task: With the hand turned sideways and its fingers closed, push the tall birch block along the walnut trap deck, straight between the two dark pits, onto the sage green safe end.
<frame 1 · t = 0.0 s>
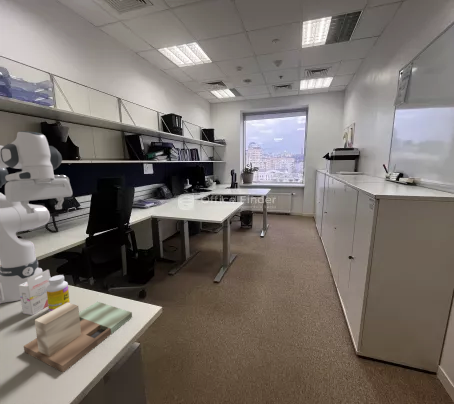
hand: (45, 211, 82), 39 cm above the table, tool pointing down, fingers open, 8 cm apart
supplement bottle: (59, 308, 85), on the table
ink cartridge box: (38, 308, 85), on the table
birch block: (60, 342, 65), point 2 cm above the table, touching trap deck
trap deck: (85, 331, 73), on the table
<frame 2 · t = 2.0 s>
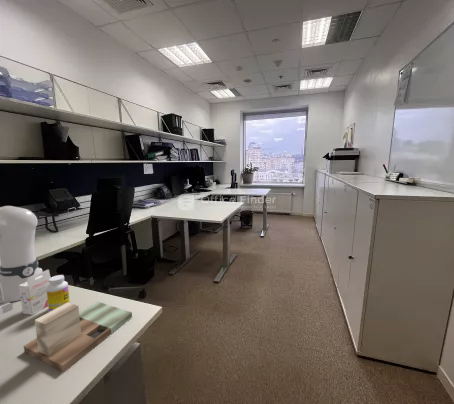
hand: (0, 300, 52), 23 cm above the table, tool horizontal, fingers open, 8 cm apart
nothing on the table moved.
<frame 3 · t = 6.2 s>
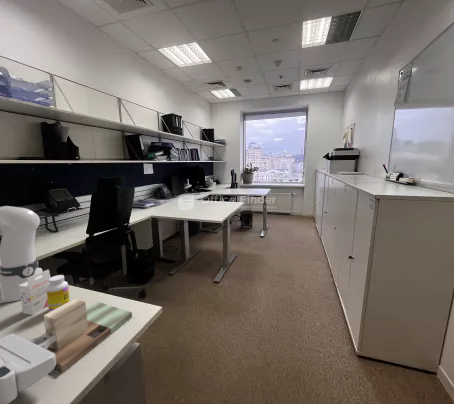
hand: (53, 336, 62), 6 cm above the table, tool horizontal, fingers closed, pressing on birch block
birch block: (68, 337, 67), point 2 cm above the table, touching gripper
everything else where it was.
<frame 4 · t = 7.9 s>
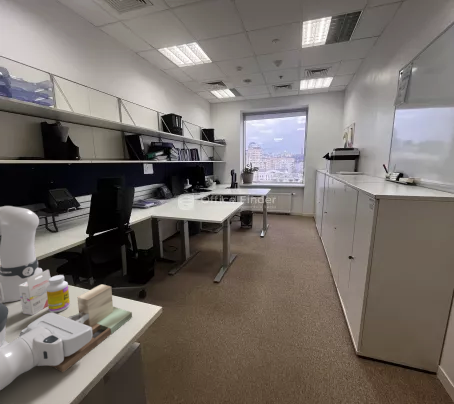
hand: (85, 314, 72), 6 cm above the table, tool horizontal, fingers closed, pressing on birch block
birch block: (97, 317, 77), point 2 cm above the table, touching gripper
everything else where it was.
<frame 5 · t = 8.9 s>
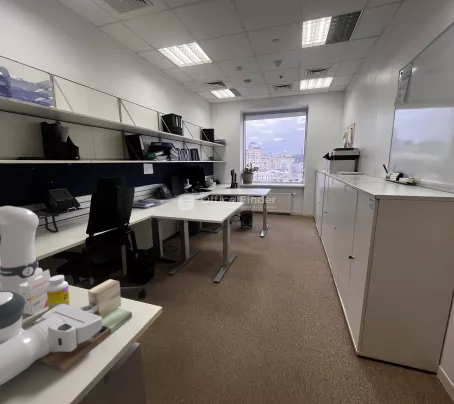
hand: (95, 306, 75), 7 cm above the table, tool horizontal, fingers closed, pressing on birch block
birch block: (106, 310, 81), point 2 cm above the table, touching gripper, trap deck
everything else where it was.
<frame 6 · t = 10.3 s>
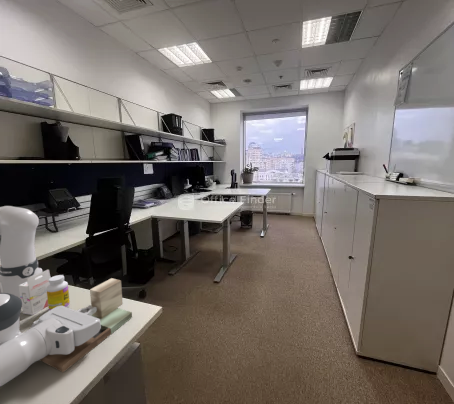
hand: (93, 307, 75), 7 cm above the table, tool horizontal, fingers closed
birch block: (108, 309, 81), point 2 cm above the table, touching trap deck
everything else where it was.
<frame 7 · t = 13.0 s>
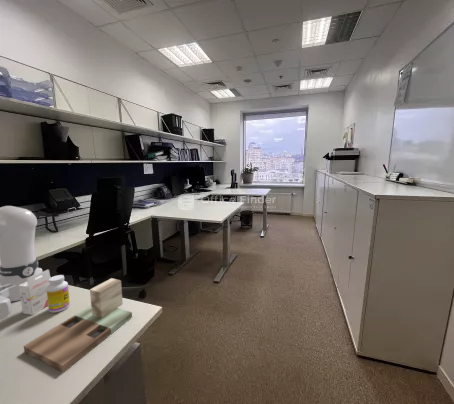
hand: (14, 287, 54), 25 cm above the table, tool horizontal, fingers closed
nothing on the table moved.
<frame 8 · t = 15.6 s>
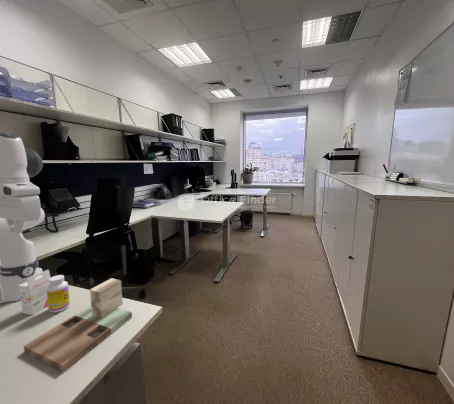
hand: (16, 232, 66), 35 cm above the table, tool pointing down, fingers closed
nothing on the table moved.
at the end: birch block 1.9 cm from the target spot on the trap deck, point 2.0 cm above the trap deck's base; birch block tilted 0° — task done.
